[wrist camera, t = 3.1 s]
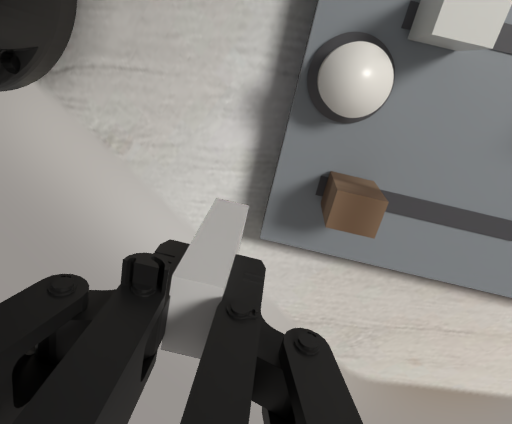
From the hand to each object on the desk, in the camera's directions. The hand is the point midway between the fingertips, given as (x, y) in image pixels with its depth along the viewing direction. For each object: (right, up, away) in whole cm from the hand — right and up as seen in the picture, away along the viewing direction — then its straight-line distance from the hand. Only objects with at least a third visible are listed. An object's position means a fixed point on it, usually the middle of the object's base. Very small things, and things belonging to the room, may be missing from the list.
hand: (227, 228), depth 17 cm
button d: (+7, +9, +5) cm, 12 cm away
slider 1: (+7, +2, +8) cm, 11 cm away
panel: (+17, +5, +9) cm, 20 cm away
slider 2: (+12, +12, +4) cm, 17 cm away
